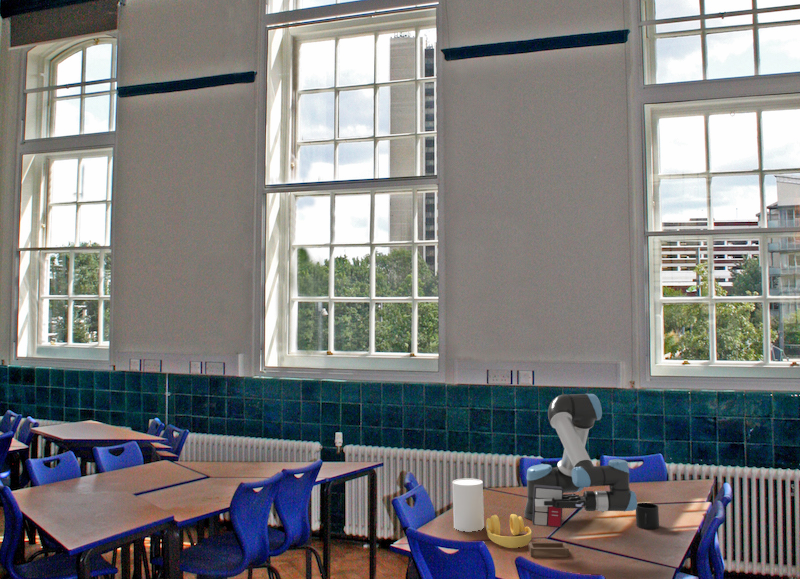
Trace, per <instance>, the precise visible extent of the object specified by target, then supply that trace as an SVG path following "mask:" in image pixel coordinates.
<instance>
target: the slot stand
mask: <svg viewBox="0 0 800 579" xmlns="http://www.w3.org/2000/svg"><path fill="white" fill-rule="evenodd" d="M527 545H528V552H529V554H530V557H531V558H532V557H534V558H535V557H536V558H537V557H538V558H541V557H542V558H544V557H545V558H547V557H549V558H551V557H554V558H558V557H559V558H560V557H563V558H565V557H566V558H567V557H568V558H569V557H570V556H569V555H570V554H569V552H570V551H569V547H568V545H567V543H566V542H564V541H561V542H560V541H559V542H558V541H556V542H554V541H553V542H551V541H549V542H548V541H547V542H546V541H544V542H543V541H540V542H539V541H538V542H537V541H536V542H534V541H533V542H532V541H530V542H528V544H527Z"/></svg>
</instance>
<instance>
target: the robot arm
mask: <svg viewBox="0 0 800 579" xmlns="http://www.w3.org/2000/svg"><path fill="white" fill-rule="evenodd" d="M602 415H603V410H602V405H601V401H600V399H599V398H598V396H597V395H596V394H594V393H577V394H571V393H570V394H560V395H558V396H555V398H553V399H552V400H551V402H550V403H549V406H548V409H547V417H548V418H547V419H548V422H549V424H550V426H551V428H553V429H555V431H556V433H557V436H558V437H559V439H560V442H561V444H562V446H563V448H564V450H563V454H562V458H561V459H560V460H559V461H558V462H557V465H556V466H555V467H552V465H551V464H547V463H544V464H536V465H532V466H530V467H528V468H527V470H526V489H527V490H526V491H527V493H526V494H527V501H526V504H525V507H524V510H523V511H524V512H523V514H524V518H526V519H527V520H530V521H531V520H532V517H533V497H534V485H546V486H559V487H562V489H563V499H558V500H555V499H554V498H552V499H535V506H553V507H555V508H562V509H579V510H582V507H584V510H585V512H595V511H597V512H601V513H605V512H625V513H626V512H632V511H633V512H634V511H636V508H637V503H638V499H637V494H636V492H635V491H634V490H631V489H630V469H629V468H630V467H629V463H628V461H627V460H625V459H620V458H617V459H616V458H613V459H609V460H608V462H607V463H608V464H607V465H597V466H596V465H594V464H593V462H592V459H591V457H590V455H589V453H588V451H587V449H586V444H587V440H588V435H589V430H590V429H592V428H593V427H594V425H595V421H600V420H601V419H602V417H603V416H602ZM592 487H594V488H595V487H609V490H595V491H593V490H585V491H583V490H584V488H592ZM582 491H583V495H580V494H576V493H578V492H582Z"/></svg>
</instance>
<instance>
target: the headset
mask: <svg viewBox="0 0 800 579" xmlns="http://www.w3.org/2000/svg"><path fill="white" fill-rule="evenodd" d="M485 529H486V532H487V533H486V534H487V537H488V539H489V540H491V542H493V543H495V544H497V545H499V546H502V547H504V548H509V549H518V547H520V548H523V547H525V546H527V545H528V542H532V541H531V540H532V529H531V528H530V527H529V526H526V525H525V524H524V519H523V517H522V516H521V515H520V516H518V515H517V514H514V513H511V514H510V515H509V529H510V532H511V535H512V536H507V535H505V536H504V535H500V534H501V522H500V518H499V516H498V515H497V514H493V515H491V516H490V517H487V518H486V520H485ZM523 532H525V533H526V534H524V535H523V534H522V533H523ZM519 534H522V535H519Z"/></svg>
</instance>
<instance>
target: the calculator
mask: <svg viewBox="0 0 800 579" xmlns="http://www.w3.org/2000/svg"><path fill="white" fill-rule="evenodd" d="M563 494H564V493H563V489H562V487H559V486H546V485H534V497H533V517H532V521H531V522H532V525H533V526H540V527H541V526H542V527H550V528H562V521H563V508H555V507H553V506H535V499H552V498H554V499H555V500H558V499H563Z"/></svg>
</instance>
